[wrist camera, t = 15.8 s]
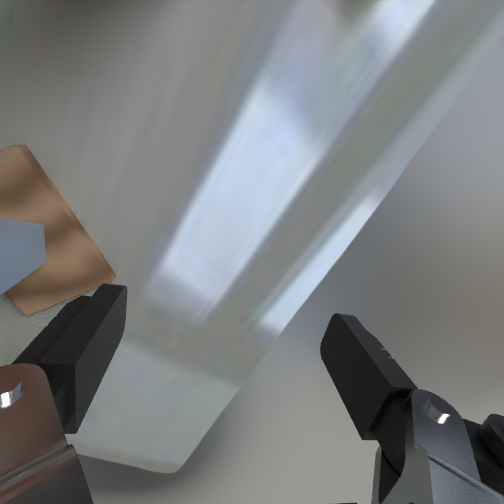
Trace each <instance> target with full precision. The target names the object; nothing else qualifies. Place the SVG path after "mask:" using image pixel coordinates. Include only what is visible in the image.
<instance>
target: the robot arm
mask: <svg viewBox="0 0 504 504" xmlns="http://www.w3.org/2000/svg"><path fill="white" fill-rule="evenodd" d="M126 305H127V286H123V285H115V284H107V283H103V284H101V285H100V287H99V288H98V289H97V291H96V292H95V293H94V294H93V296H92V297H91V296H80V297H78V298H76V299H75V300H73V301H71V302H69V303H67V304H66V305H65V306H64V307H63V308H62V310H61V311H60V312H59V313H58V314H57V316H56V317H54V318H53V319H52V320H51V322H50V323H49V325H48V326H46V327H45V328H44V329H43V330H42V331H41V332H40V334H39V335H38V336H37V337H36V338H35V339H34V340H33V341H32V342H31V343H30V344H29V346H28V347H27V348H26V349H25V350H24V351H23V352H22V353H21V354H20V355H19V356H18V358H17V359H16V360H15V361H14V362H13V363H12V364H10V365H6V366H2V367H0V504H93V501H92V498H91V495H90V492H89V488H88V485H87V482H86V479H85V476H84V473H83V470H82V467H81V464H80V461H79V458H78V455H77V452H76V450H75V448H74V446H73V445H72V444H71V445H68V443H67V440H66V437H65V434H76V433H77V431H78V429H79V427H80V425H81V423H82V421H83V418H84V416H85V414H86V412H87V410H88V408H89V406H90V404H91V402H92V399H93V397H94V395H95V393H96V391H97V389H98V387H99V385H100V383H101V381H102V378H103V376H104V374H105V372H106V370H107V368H108V366H109V364H110V362H111V360H112V357H113V355H114V353H115V351H116V349H117V347H118V345H119V343H120V341H121V338H122V335H123V332H124V327H125V319H126ZM320 353H321V357H322V360H323V362H324V364H325V366H326V368H327V370H328V372H329V374H330V376H331V378H332V380H333V382H334V384H335V386H336V388H337V390H338V392H339V394H340V396H341V398H342V400H343V402H344V404H345V406H346V409H347V410H348V413H349V415H350V417H351V419H352V420H353V422H354V425H355V427H356V428H357V431H358V433H359V435H360V437H361V439H362V440H377V441H378V442H379V444H380V446H379V448H378V449H377V451H376V458H375V468H374V479H373V491H372V502H371V504H504V416H501V415H498V414H491V415H489V416H488V417H487V419H486V420H485V421H484V422H483V424H482V425H480V424H477V423H475V422H472V421H469V420H466V419H463V418H462V417H461V416H460V414H459V413H458V412H457V411H456V409H454V407H452V406H451V405H450V404H449V403H448V402H447V401H445V400H444V399H443V398H441V397H439V396H438V395H436V394H434V393H432V392H429V391H427V390H423V389H418V388H417V387H416V386H415V384H414V383H413V382H412V381H411V379H410V378H409V377H408V376H407V375H406V373H405V372H404V371H403V370H402V368H401V367H400V366H399V365H398V364H397V362H396V361H395V360H394V359H392V357H391V355H390V354H389V353H388V352H387V351H386V350H385V348H384V347H383V346H382V344H381V343H380V342H379V341H378V339H377V338H376V337H374V336H373V335H372V334H371V333H369V332H368V331H367V330H366V329H365V328H364V327H363V326H362V324H361V323H360V322H359V321H358V319H357V318H356V317H355V316H353V315H346V314H338V313H336V314H334V315H333V316H332V317H331V320H330V322H329V325H328V327H327V330H326V332H325V335H324V337H323V339H322V342H321V346H320ZM341 504H357V503H341Z"/></svg>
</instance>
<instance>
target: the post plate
mask: <svg viewBox="0 0 504 504" xmlns="http://www.w3.org/2000/svg"><path fill="white" fill-rule="evenodd" d="M0 218H6V219H12V220H19V221H25V222H31V223H38V224H44V236H45V252H46V263H45V264H43V265H42V266H41V267H39V268H38V269H36V270H35V271H34V272H32V273H31V274H29V275H28V276H27V277H25V278H24V279H22V280H21V281H19V282H18V283H17V284H15V285H14V286H12V287H11V288H10V289H8V290H7V291H5V292H4V293H5V294H6V295H7V296H8V298H9V299H10V300H11V301H12V302H13V303H14V304H15V305H16V306H17V307H18V308H19V309H20V310H21V311H22V312H23V313H24V315H25V316H28V315H30V314H33V313H35V312H38V311H40V310H43V309H45V308H48V307H50V306H52V305H55V304H57V303H60V302H62V301H65V300H67V299H70V298H72V297H75V296H77V295H80V294H82V293H84V292H87V291H89V290H92V289H94V288H97V287H99V286H100V285H101V284H103V283H109V282H112V280H113V279H114V278H115V276H116V274H115V273H114V271H113V270H112V268H111V267H110V265H109V264H108V263H107V261H106V260H105V258H104V257H103V255H102V254H101V252H100V251H99V250H98V248H97V247H96V245H95V244H94V242H93V241H92V240H91V238H90V237H89V235H88V234H87V232H86V231H85V229H84V228H83V227H82V225H81V224H80V222H79V221H78V219H77V218H76V216H75V215H74V214H73V212H72V211H71V209H70V208H69V206H68V205H67V204H66V202H65V201H64V199H63V198H62V196H61V195H60V193H59V192H58V191H57V189H56V188H55V186H54V185H53V183H52V182H51V180H50V179H49V178H48V176H47V175H46V173H45V172H44V170H43V169H42V168H41V166H40V165H39V163H38V162H37V160H36V159H35V157H34V156H33V155H32V153H31V152H30V150H29V149H28V147H27V146H26V145H14V146H12V147H9V148H7V149H5V150H2V151H0Z"/></svg>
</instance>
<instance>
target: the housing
mask: <svg viewBox="0 0 504 504" xmlns="http://www.w3.org/2000/svg"><path fill="white" fill-rule="evenodd" d="M45 263H46V252H45V236H44V224H38V223H31V222H25V221H19V220H12V219H6V218H0V295H1V294H3V293H4V292H5V291H7V290H8V289H10V288H11V287H12V286H14V285H15V284H17V283H18V282H19V281H21V280H22V279H24V278H25V277H27V276H28V275H29V274H31V273H32V272H34V271H35V270H36V269H38V268H39V267H41V266H42V265H43V264H45Z"/></svg>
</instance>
